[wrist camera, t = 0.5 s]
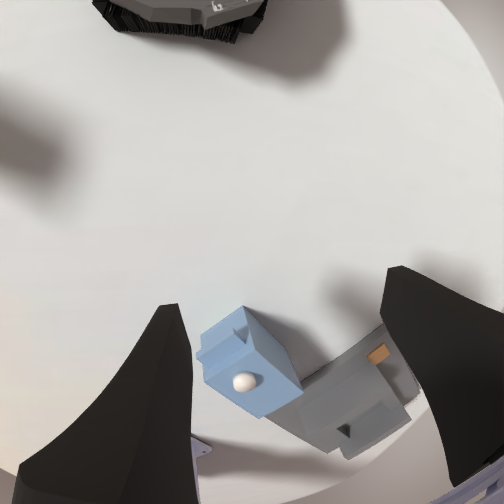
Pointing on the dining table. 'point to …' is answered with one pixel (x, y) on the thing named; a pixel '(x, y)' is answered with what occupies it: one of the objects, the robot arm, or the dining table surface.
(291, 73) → the dining table surface
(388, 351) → the board
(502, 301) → the dining table surface
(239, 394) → the block
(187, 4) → the cpu cooler
